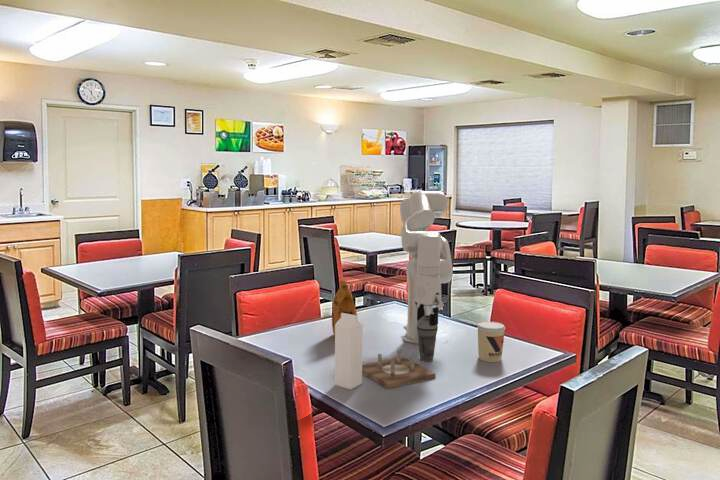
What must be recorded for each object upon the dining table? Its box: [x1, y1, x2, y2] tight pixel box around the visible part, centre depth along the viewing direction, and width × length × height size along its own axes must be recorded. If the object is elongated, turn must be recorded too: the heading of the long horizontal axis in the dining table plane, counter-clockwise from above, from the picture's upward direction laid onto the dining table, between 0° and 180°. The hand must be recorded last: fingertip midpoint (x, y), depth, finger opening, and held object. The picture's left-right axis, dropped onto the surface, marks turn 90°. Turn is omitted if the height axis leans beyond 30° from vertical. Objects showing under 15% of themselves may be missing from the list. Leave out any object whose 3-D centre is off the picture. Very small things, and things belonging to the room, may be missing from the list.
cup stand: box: [362, 349, 437, 390], centre depth 182 cm, size 18×18×6 cm
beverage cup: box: [417, 305, 439, 363], centre depth 195 cm, size 7×7×20 cm
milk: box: [334, 313, 363, 390], centre depth 172 cm, size 6×6×22 cm
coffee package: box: [331, 279, 359, 337], centre depth 219 cm, size 10×12×22 cm
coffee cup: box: [476, 321, 506, 363], centre depth 197 cm, size 9×9×12 cm
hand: (427, 322), depth 194 cm, fingers closed on beverage cup, 6 cm apart
